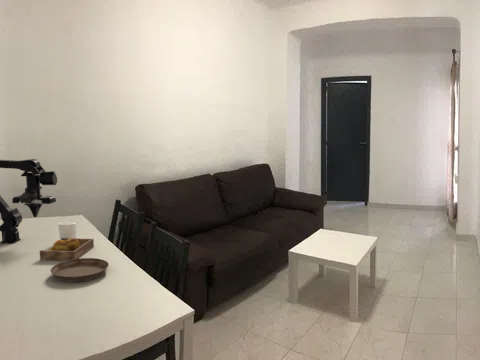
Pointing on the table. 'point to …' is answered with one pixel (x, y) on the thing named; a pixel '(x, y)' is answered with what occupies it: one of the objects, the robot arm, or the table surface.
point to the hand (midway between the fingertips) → (35, 217)
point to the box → (68, 255)
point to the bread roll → (65, 245)
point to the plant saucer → (79, 269)
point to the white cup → (67, 229)
